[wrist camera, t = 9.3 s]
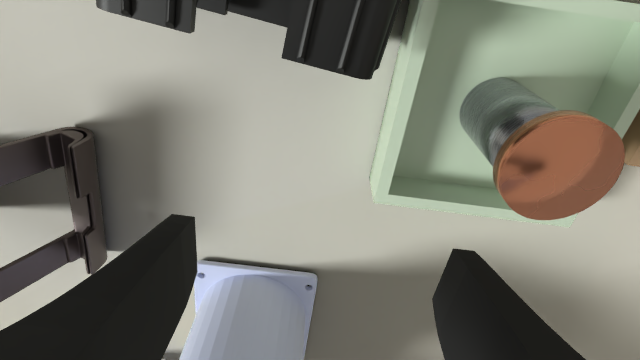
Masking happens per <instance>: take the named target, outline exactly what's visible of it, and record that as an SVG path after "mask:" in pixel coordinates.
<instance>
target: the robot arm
mask: <svg viewBox="0 0 640 360" xmlns="http://www.w3.org/2000/svg"><path fill="white" fill-rule="evenodd" d="M201 273H204V274H201ZM193 284H194V288H195V306H196V317H195V319H194V322H193V324H192V327H191V330H190V332H189V335H188V338H187V340H186V343H185V345H184V348H183V351H182V353H181V356H180V359H179V360H304V356H305V350H306V344H307V339H308V333H309V327H310V322H311V316H312V310H313V305H314V299H315V293H316V288H317V276H316V275H315V274H313V273H308V272H299V271H291V270H282V269H273V268H265V267H256V266H247V265H239V264H230V263H221V262H213V261H204V260H199V261H197V252H196V233H195V217H191V216H183V215H174V214H172V215H171V216H169V217H168V218H166V219H165V220H164V221H163V222H161V223H160V224H159V225H157V226H156V227H155V228H154V229H152V230H151V231H150V232H149V233H147V234H146V235H145V236H144V237H142V238H141V239H140V240H138V241H137V242H136V243H135V244H133V245H132V246H131V247H129V248H128V249H127V250H125V251H124V252H123V253H121V254H120V255H119V256H118V257H116V258H115V259H114V260H112V261H111V262H110V263H108V264H107V265H105V266H104V267H103V268H101V269H100V270H98V271H97V272H96V273H94V274H93V275H91V276H90V277H88V278H87V279H85V280H84V281H82V282H81V283H80V284H78V285H77V286H75V287H74V288H72V289H71V290H69V291H68V292H66V293H65V294H63V295H62V296H60V297H58V298H57V299H55V300H54V301H52V302H50V303H49V304H47V305H45V306H44V307H42V308H40V309H38V310H37V311H35V312H33V313H32V314H30V315H28V316H27V317H25V318H23V319H21V320H20V321H18V322H16V323H14V324H12V325H10V326H9V327H7V328H5V329H3V330H1V331H0V360H161V359H162V357H163V355H164V353H165V351H166V349H167V347H168V344H169V342H170V340H171V338H172V336H173V334H174V332H175V329H176V327H177V325H178V323H179V321H180V319H181V316H182V314H183V312H184V310H185V308H186V305H187V302H188V300H189V297H190V294H191V291H192V288H193ZM307 285H311V286H307ZM432 300H433V307H434V315H435V321H436V327H437V333H438V337H439V341H440V344H441V348H442V351H443V355H444V358H445V360H586V359H584V358H583V357H582V356H581V355H580V354H579V353H578V352H576V351H575V350H574V349H573V348H572V347H571V346H570V345H569V344H568V343H567V342H565V341H564V340H563V339H562V338H561V337H560V336H559V335H558V334H557V333H556V332H555V331H554V330H552V329H551V328H550V327H549V326H548V325H547V324H546V323H545V322H544V321H543V320H542V319H541V318H540V317H539V316H538V315H537V314H536V313H535V312H534V311H533V310H532V309H531V308H530V307H529V306H528V305H527V304H526V303H525V302H524V301H523V300H522V299H521V298H520V297H519V296H518V295H517V294H516V293H515V292H514V291H513V290H512V289H511V288H510V287H509V286H508V285H507V284H506V283H505V282H504V280H503V279H502V278H501V277H500V276H499V275H498V274H497V273H496V272H495V271H494V270H493V269H492V268H491V267H490V266H489V265H488V264H487V263H486V262H485V261H484V260H483V259H482V258H481V257H480V256H479V255H478V254H477V253H476V252H475V251H469V250H461V249H453V250H452V253H451V255H450V257H449V260H448V262H447V265H446V267H445V269H444V272H443V274H442V277H441V279H440V282H439V284H438V286H437V289H436V291H435V294H434V296H433V298H432Z"/></svg>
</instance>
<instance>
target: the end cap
mask: <svg viewBox="0 0 640 360" xmlns="http://www.w3.org/2000/svg"><path fill="white" fill-rule="evenodd" d="M400 3H401V0H96V5H97V7H98V8H100V9H102V10H104V11H108V12H111V13H115V14H119V15H122V16H126V17H130V18H134V19H137V20H141V21H145V22H148V23H152V24H156V25H160V26H163V27H167V28H171V29H175V30H178V31H182V32H186V33H192V32H194V29H195V16H196V7H197V8H201V9H204V10H208V11H211V12H215V13H219V14H222V15H226V14H227V12H228V11H229V12H233V13H237V14H240V15H244V16H248V17H251V18H255V19H258V20H262V21H266V22H269V23H273V24H276V25H280V26H284V27H287V33H286V38H285V43H284V48H283V54H282V58H283V59H287V60H291V61H294V62H298V63H302V64H306V65H309V66H313V67H317V68H321V69H324V70H328V71H332V72H336V73H339V74H343V75H347V76H351V77H354V78H359V79H371V78H372V75H373V72H374V71H375V70H377V69H378V68H379V66H380V63H381V60H382V57H383V54H384V51H385V48H386V45H387V42H388V39H389V36H390V33H391V30H392V27H393V24H394V21H395V18H396V15H397V12H398V9H399V6H400Z"/></svg>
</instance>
